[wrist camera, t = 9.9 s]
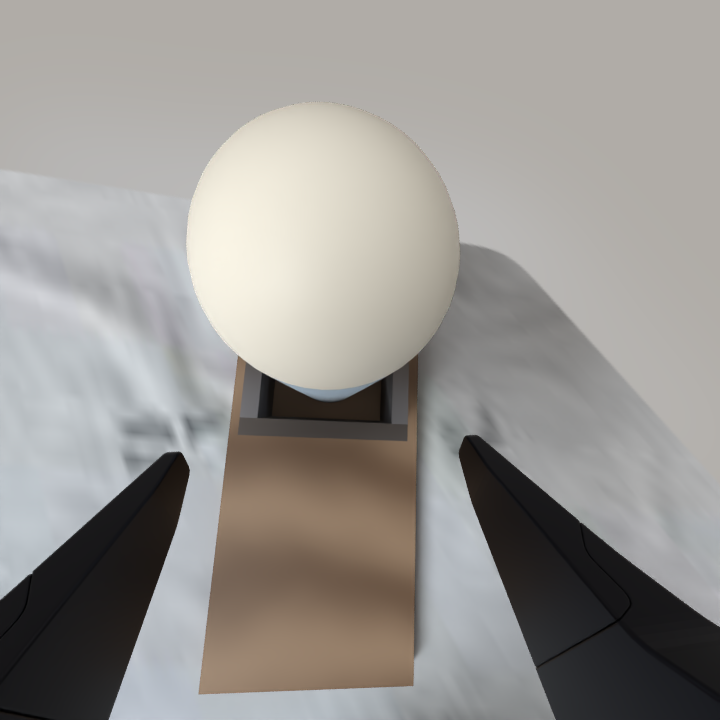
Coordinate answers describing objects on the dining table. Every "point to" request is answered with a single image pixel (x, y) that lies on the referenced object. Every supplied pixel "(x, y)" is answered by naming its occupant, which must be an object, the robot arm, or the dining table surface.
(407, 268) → the post
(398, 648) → the board
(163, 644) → the dining table surface
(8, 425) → the dining table surface
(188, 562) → the dining table surface
